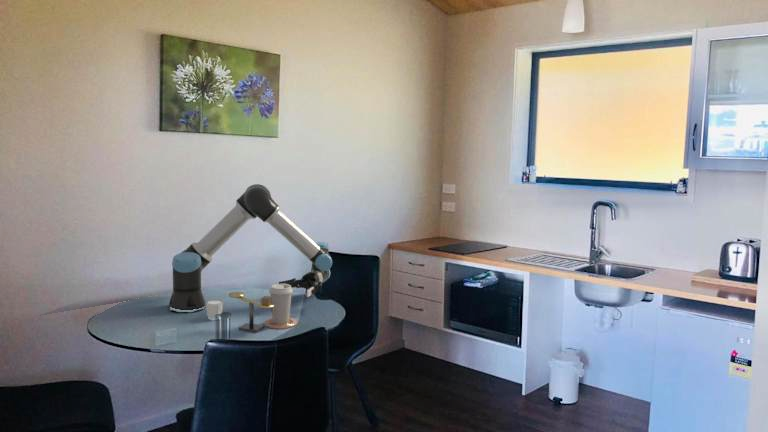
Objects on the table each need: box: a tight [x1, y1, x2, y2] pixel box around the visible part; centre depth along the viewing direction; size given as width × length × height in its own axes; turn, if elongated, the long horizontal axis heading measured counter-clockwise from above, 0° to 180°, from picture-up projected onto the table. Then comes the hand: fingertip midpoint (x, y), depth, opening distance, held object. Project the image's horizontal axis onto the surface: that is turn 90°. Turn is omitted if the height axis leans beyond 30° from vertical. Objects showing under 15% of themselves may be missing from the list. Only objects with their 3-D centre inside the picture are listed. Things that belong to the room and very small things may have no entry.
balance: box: [228, 291, 274, 334], centre depth 245 cm, size 19×6×14 cm, turn 75°
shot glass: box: [205, 299, 224, 318], centre depth 256 cm, size 7×7×7 cm
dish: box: [264, 317, 298, 330], centre depth 253 cm, size 13×13×1 cm
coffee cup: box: [268, 283, 294, 324], centre depth 252 cm, size 10×10×15 cm
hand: (292, 291), depth 263 cm, fingers open, 13 cm apart
